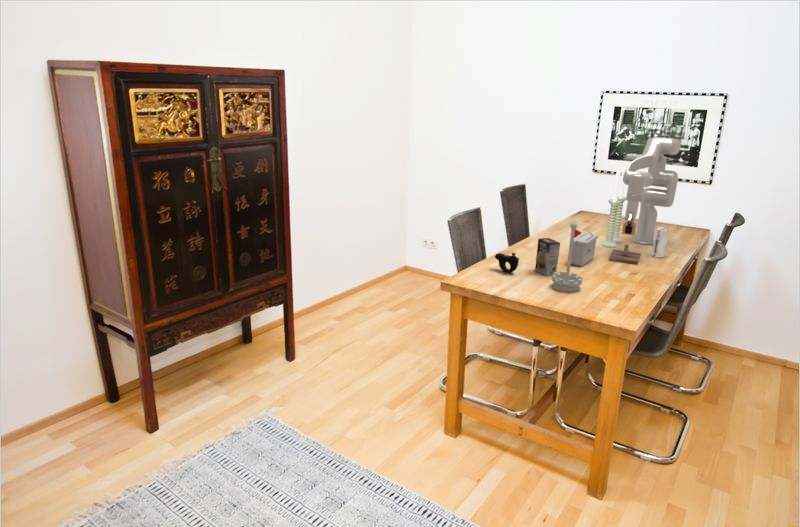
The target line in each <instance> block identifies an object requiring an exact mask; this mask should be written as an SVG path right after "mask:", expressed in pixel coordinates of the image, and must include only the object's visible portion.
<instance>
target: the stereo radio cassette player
mask: <svg viewBox="0 0 800 527" xmlns="http://www.w3.org/2000/svg"><path fill="white" fill-rule="evenodd" d="M585 230H587V232H586V231H585V232H582V233H581V234H580V235H578V236H577V237H575V238H574V242H573V250H572V258H571V264H572V265H571V266H577V267H578V266H579V267H581V266H582V267H583V266H584V265H586V264H587V263H589V262H590V261H591V260H592V259H594V256H595V250H596V243H597V239H598V238H599V234H597V233H591V232H590V230H589V229H588V228H587V227H586V228H585Z"/></svg>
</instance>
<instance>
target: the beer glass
mask: <svg viewBox="0 0 800 527" xmlns="http://www.w3.org/2000/svg"><path fill="white" fill-rule="evenodd" d="M669 231H670V229H669V228H665V227H655V231H654V237H653V244H652V245H653V247H652V248H653V249H652V251H651V255H652V257H653V256H654V257H653V258H658V257H662V258H664V254H665V252H664V250H665V248H666V245H667V242H668V237H669V233H670V232H669Z"/></svg>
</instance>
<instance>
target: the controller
mask: <svg viewBox="0 0 800 527" xmlns="http://www.w3.org/2000/svg"><path fill="white" fill-rule="evenodd" d="M516 255H517V253H516V252H512V253H511V255H509V254H505V253H501V252H500V253H497V254H495V256H494V258H495V259H496V260H497V261H498V266H499V268H500V270H502V272H504V273H508V274H509V273H513V272H515V271H516V270H517V269H518V266H519V263H520V262H519V260H520V257H517V256H516ZM507 263H508V264H509V268H508V267H507Z"/></svg>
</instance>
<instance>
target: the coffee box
mask: <svg viewBox="0 0 800 527" xmlns="http://www.w3.org/2000/svg"><path fill="white" fill-rule="evenodd" d="M560 248H561V242H559V241H557V240H555V239H552V238H550V237H543V238H542V237H541V238H538V240H537V249H536V257H535V258H536V259H535V268H534V271H536V272H538V273H539V274H542V275H543V274H544V275H543V276H545V275H546V276H547V275H549V276H552V275H553V273H555V272H557V271H558V263H559V257H560V256H559V255H560ZM557 273H558V272H557ZM546 276H545V277H546ZM547 277H548V276H547Z"/></svg>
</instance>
